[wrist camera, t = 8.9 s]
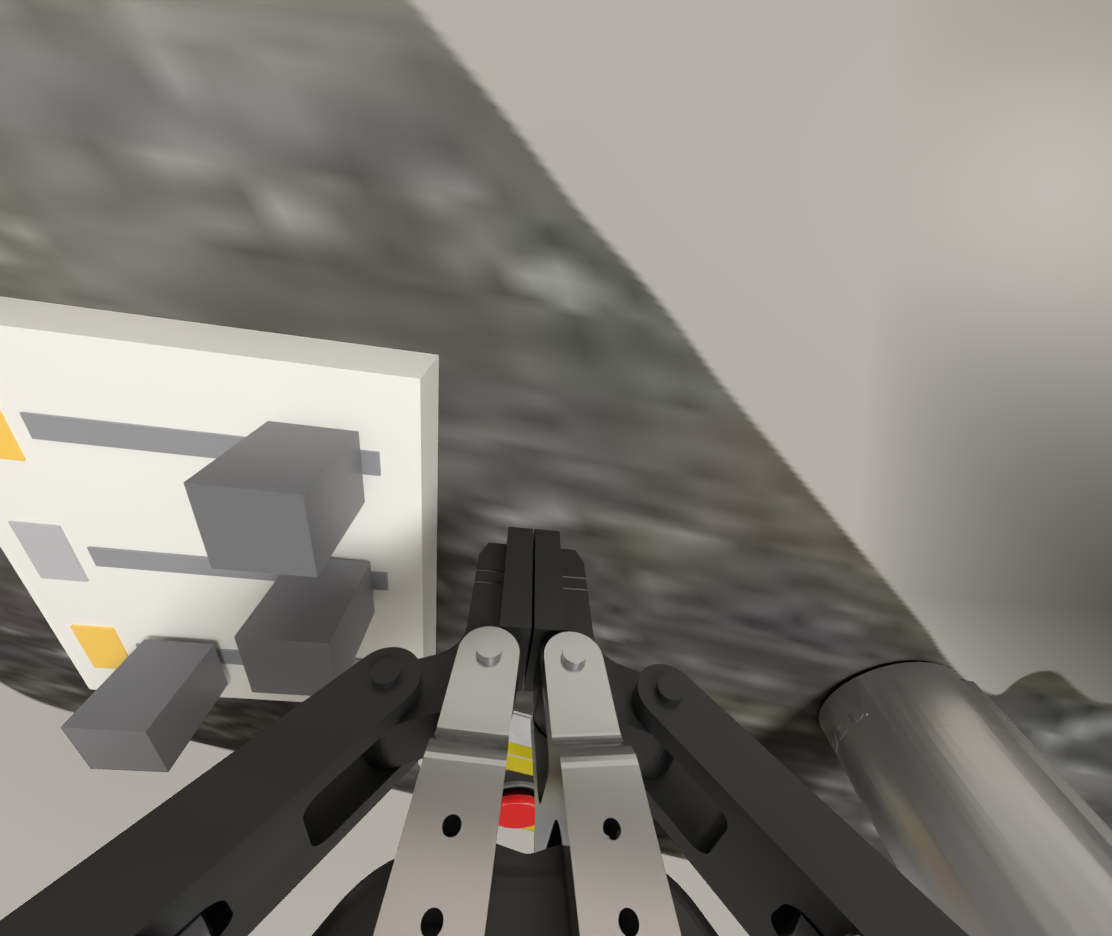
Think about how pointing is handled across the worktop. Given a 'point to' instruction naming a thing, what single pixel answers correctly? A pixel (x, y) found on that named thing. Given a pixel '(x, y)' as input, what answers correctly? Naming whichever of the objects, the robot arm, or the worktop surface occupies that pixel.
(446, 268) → the worktop surface
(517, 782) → the emergency button
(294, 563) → the switch
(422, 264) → the worktop surface
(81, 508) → the switch panel
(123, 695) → the switch
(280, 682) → the switch
